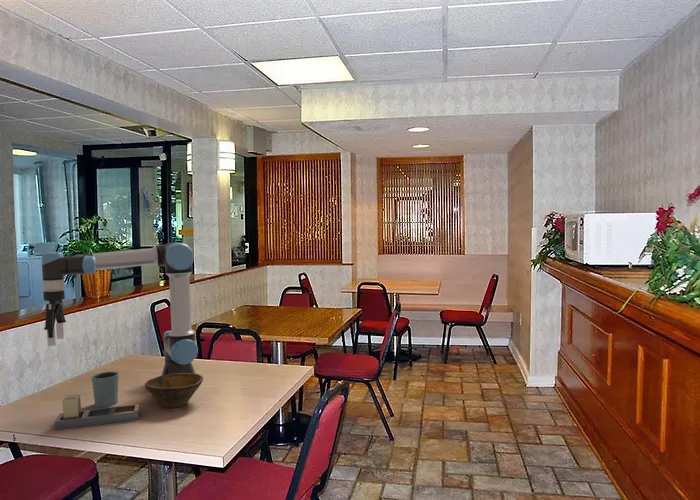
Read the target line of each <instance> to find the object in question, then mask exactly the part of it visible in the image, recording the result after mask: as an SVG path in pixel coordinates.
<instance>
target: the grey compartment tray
mask: <svg viewBox="0 0 700 500" xmlns="http://www.w3.org/2000/svg"><path fill="white" fill-rule="evenodd" d="M139 414H141V404H140V403H138V404H136V403H133V404H126V405H116V406H112V407H111V406H109V407H101V408H95V409H85V410H81V418H74V419H66V420H63V412H61V413H60V412H59V414H58V415H57V417H56V419H55V420H54V431H57V430H64V429H72V428H73V429H74V428H81V427H82V426H83V427H89V426H90V425H91V426H97V424H99V425H105V424H106V423H107V424H114V422H115V423H122V422H129V421H137V420H138V421H139V419H140V415H139ZM83 427H82V428H83Z"/></svg>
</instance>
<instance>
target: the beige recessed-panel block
mask: <svg viewBox="0 0 700 500" xmlns="http://www.w3.org/2000/svg"><path fill="white" fill-rule="evenodd" d="M81 406H82V405H81V394H78V393H76V394H67V395H65V396H64V397H63V399H62V413H63V420H66V419H74V418H81V411H82V409H81V408H82V407H81Z"/></svg>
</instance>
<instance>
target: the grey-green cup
mask: <svg viewBox="0 0 700 500" xmlns="http://www.w3.org/2000/svg"><path fill="white" fill-rule="evenodd" d="M119 375H120V373H119V372H118V371H117V372H116V371H103V372H98V373H95V374H93V375H91V383H92V391H93V398H94V399H93V401H94V406H95V407H97V408H109V407H111V406H112V407H113V406H115V405H117V404H118V403H119V377H120V376H119Z"/></svg>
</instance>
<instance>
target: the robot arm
mask: <svg viewBox="0 0 700 500" xmlns="http://www.w3.org/2000/svg"><path fill="white" fill-rule="evenodd" d="M192 249H193V248H191V247H190V246H189V245H188V244H186V243H184V242H178V241H173V242H169V243H165V244H160V245H154V246H153V247H151V248H140V249H128V250H115V251H108V252H107V251H106V252H104V251H103V252H95V253H85V254H82V253H79V254H75V255H72V256H64V254H63V252H61V251H52V252H44V253H42V254H41V270H42V271H41V272H42V282H41V285H42V290H43V294H42V295H43V301H46V302H47V301H48V302H49V303H47V304H46V315H45V324H44V328H43V329H44V331H46V340H47V342H46V343H47V347H55V346H56V345H57V342H56V340H64V339H65V326H64V325H65V323H66V322H67V320H66V318H65V317H66V316H65V312H64V311H65V310H64V307H63V300H65V297H66V296H65V295H66V293H65V290H64V289H65V278H64V277H65V276H69V275H70V276H71V275H74V276H75V275H89V274H91V275H92V274H95V273H96V272H97V271H102V270H110V269H111V270H112V269H121V268H124V269H125V268H132V267H133V268H135V267H141V266H142V267H143V266H151V265H152V266H153V265H154V266H155V267H164V269H165V271H164V272H165V273H164V274H165V275H166V276H168V279H169V281H168V282H169V302H170V305H169V306H170V324H171V326H170V327H171V330H166V331H165V332H163V337H162V338H163V347H164V351H163V352H164V364H163V365H164V366H163V369H162V372H161V376H163V375H167V374H173V373H196V372H195V369H194V366H193V363H192V362H193V361H194V360H195V359H196V358H197V356H198V353H199V347H198V344H197V342H196V339H197V338H196V331H195V330H194V329H193V328H192V311H191V310H192V309H191V308H192V307H191V287H190V283H191V282H190V276H191V274H193V270H194V269H193V264H194V260H195V253H194V251H193V250H192ZM55 327H56V328H55Z"/></svg>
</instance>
